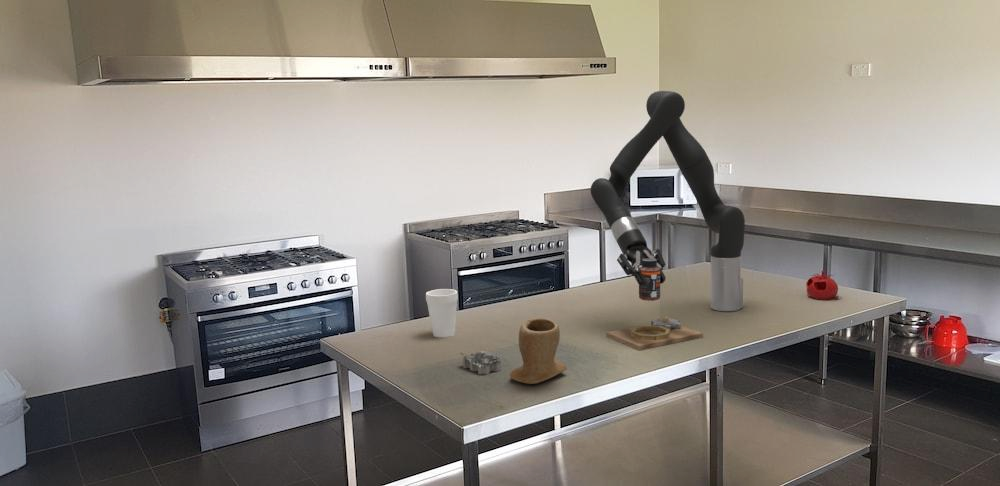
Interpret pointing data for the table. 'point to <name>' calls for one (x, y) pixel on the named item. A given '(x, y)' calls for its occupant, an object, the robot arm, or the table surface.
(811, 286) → the pomegranate
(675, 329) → the board
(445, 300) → the foam cup
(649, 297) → the supplement bottle
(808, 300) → the table surface
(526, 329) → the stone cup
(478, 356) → the egg carton
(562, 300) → the table surface
